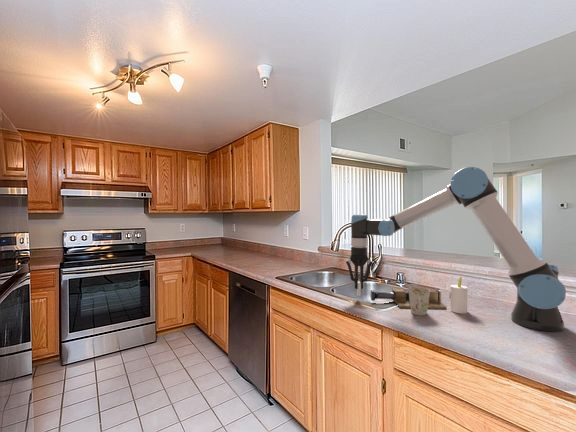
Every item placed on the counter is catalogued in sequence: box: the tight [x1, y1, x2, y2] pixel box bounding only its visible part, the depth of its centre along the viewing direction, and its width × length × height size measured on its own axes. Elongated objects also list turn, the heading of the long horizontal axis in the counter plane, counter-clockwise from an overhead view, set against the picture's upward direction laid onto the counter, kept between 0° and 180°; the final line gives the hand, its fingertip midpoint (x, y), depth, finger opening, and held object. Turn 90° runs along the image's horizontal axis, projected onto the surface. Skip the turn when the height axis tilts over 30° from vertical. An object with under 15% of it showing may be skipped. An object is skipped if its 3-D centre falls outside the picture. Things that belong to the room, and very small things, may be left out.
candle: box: [449, 276, 468, 315], centre depth 123 cm, size 6×6×15 cm
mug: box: [407, 286, 430, 316], centre depth 119 cm, size 8×13×10 cm, turn 161°
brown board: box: [391, 288, 447, 310], centre depth 136 cm, size 20×21×5 cm
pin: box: [369, 289, 409, 301], centre depth 137 cm, size 5×21×5 cm, turn 86°
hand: (358, 295), depth 138 cm, fingers closed
